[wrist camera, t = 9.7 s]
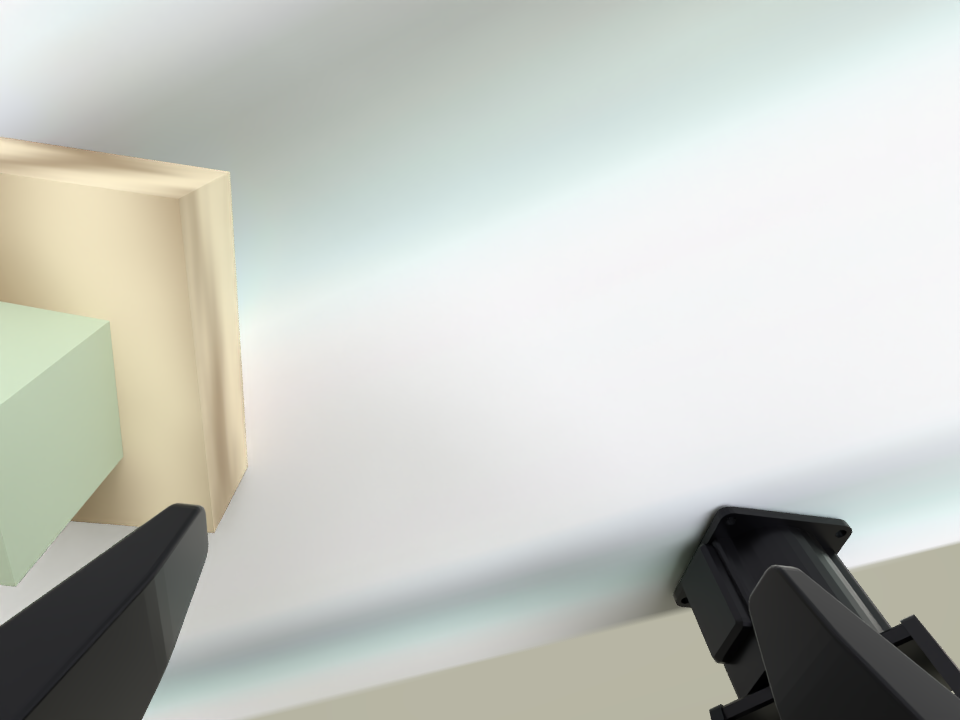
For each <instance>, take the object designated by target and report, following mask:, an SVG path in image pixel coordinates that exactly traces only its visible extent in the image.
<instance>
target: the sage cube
mask: <svg viewBox="0 0 960 720" xmlns="http://www.w3.org/2000/svg"><path fill="white" fill-rule="evenodd" d="M122 458H123V447H122V438H121V428H120V418H119V409H118V399H117V389H116V380H115V370H114V360H113V351H112V341H111V331H110V322H109V321H108V320H102V319H96V318H91V317H85V316H80V315H74V314H68V313H63V312H57V311H51V310H46V309H40V308H35V307H29V306H23V305H18V304H12V303H7V302H1V301H0V585H6V586H15V587H16V586H17V585H18V583H19V582H20V581H21V580H22V579H23V577H24V576H25V575H26V574H27V573H28V571H29V570H30V569H31V568H32V567H33V565H34V564H35V563H36V562H37V560H38V559H39V558H40V557H41V556H42V554H43V553H44V552H45V551H46V550H47V548H48V547H49V546H50V545H51V544H52V542H53V541H54V540H55V539H56V537H57V536H58V535H59V534H60V533H61V531H62V530H63V529H64V528H65V527H66V525H67V524H68V523H69V522H70V521H71V519H72V518H73V517H74V516H75V514H76V513H77V512H78V511H79V510H80V508H81V507H82V506H83V505H84V504H85V502H86V501H87V500H88V499H89V498H90V496H91V495H92V494H93V493H94V491H95V490H96V489H97V488H98V487H99V485H100V484H101V483H102V482H103V481H104V479H105V478H106V477H107V476H108V475H109V473H110V472H111V471H112V470H113V468H114V467H115V466H116V465H117V464H118V462H119V461H120V460H121V459H122Z"/></svg>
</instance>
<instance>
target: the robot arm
mask: <svg viewBox="0 0 960 720" xmlns="http://www.w3.org/2000/svg"><path fill="white" fill-rule="evenodd" d="M727 518H728V519H727ZM851 533H852V529H851V528H850V526H849V525H848V524H847V523H846V522H845V521H844V520H841V519H832V518H824V517H815V516H807V515H798V514H790V513H781V512H772V511H764V510H755V509H747V508H738V507H725V508H722V509H721V510H719V511H718V512H717V514H716V516H715V517H714V519H713V521H712V523H711V525H710V527H709V528H708V530H707V532H706V534H705V536H704V538H703V540H702V541H701V543H700V545H699V547H698V549H697V551H696V553H695V554H694V556H693V558H692V560H691V562H690V564H689V566H688V567H687V569H686V571H685V573H684V575H683V577H682V579H681V580H680V582H679V584H678V586H677V588H676V590H675V591H674V594H673V596H674V598H675V601H676V603H677V605H678V606H681V607H690V608H692V610H693V613H694V615H695V617H696V619H697V622H698V624H699V627H700V629H701V632H702V634H703V636H704V639H705V641H706V644H707V646H708V648H709V650H710V653H711V655H712V657H713V658H714V660H715V661H716V662H717V663H722V664H724V666H725V669H726V671H727V673H728V676H729V678H730V680H731V682H732V685H733V687H734V689H735V692H736V694H737V696H738V699H737V700H735V701H733V702H731V703H729V704H727V705H725V706H723V705H721V704H720V705H718V706H716V707H714V708H712V709H710V710H709V711H710V716H711V720H960V670H959V668H958V667H957V666H956V664H955V663H954V662H953V661H952V660H951V658H950V657H949V656H948V655H947V654H946V652H945V651H944V650H943V649H942V648H941V646H940V645H939V644H938V643H937V642H936V640H935V639H934V638H933V637H932V636H931V634H930V633H929V632H928V631H927V630H926V628H925V627H924V626H923V625H922V624H921V623H920V621H919V620H918V619H917V617H916V616H915V615H911V616H909V617H907V618H905V619H903V620H901V621H900V622H901V624H899V625H897V626H895V627H893V628H891V626H890V625H889V623H888V622H887V621H886V620H885V618H884V617H883V615H882V614H881V613H880V612H879V610H878V609H877V607H876V606H875V605H874V604H873V602H872V601H871V600H870V598H869V597H868V596H867V594H866V593H865V592H864V590H863V589H862V588H861V586H860V585H859V584H858V582H857V581H856V580H855V579H854V577H853V576H852V574H851V573H850V572H849V570H848V569H847V568H846V566H845V565H844V564H843V562H842V561H841V560H840V558H839V557H838V556H837V553H838V552H839V550H840V549H841V548H842V546H843V545H844V544H845V542H846V541H847V539H848V538H849V537H850V535H851ZM207 552H208V533H207V521H206V512H205V509H204V507H203V506H200V505H194V504H184V503H175V504H172V505H170V506H168V507H167V508H165V509H164V510H163V511H161V512H160V513H158V514H157V515H156V516H154V517H153V518H151V519H150V520H149V521H147V522H146V523H144V524H143V525H142V526H140V527H139V528H137V529H136V530H135V531H133V532H132V533H130V534H129V535H128V536H126V537H125V538H123V539H122V540H120V541H119V542H118V543H116V544H115V545H113V546H112V547H111V548H109V549H108V550H106V551H105V552H104V553H102V554H101V555H99V556H98V557H97V558H95V559H94V560H92V561H91V562H90V563H88V564H87V565H85V566H84V567H82V568H81V569H80V570H78V571H77V572H75V573H74V574H73V575H71V576H70V577H68V578H67V579H66V580H64V581H63V582H61V583H60V584H59V585H57V586H56V587H54V588H53V589H52V590H50V591H49V592H47V593H46V594H45V595H43V596H42V597H40V598H39V599H37V600H36V601H35V602H33V603H32V604H30V605H29V606H28V607H26V608H25V609H23V610H22V611H21V612H19V613H18V614H16V615H15V616H14V617H12V618H11V619H9V620H8V621H7V622H5V623H4V624H2V625H1V626H0V720H142V718H143V716H144V714H145V712H146V710H147V708H148V706H149V704H150V702H151V699H152V697H153V695H154V693H155V691H156V689H157V687H158V685H159V683H160V681H161V678H162V676H163V674H164V672H165V670H166V667H167V665H168V663H169V660H170V657H171V655H172V652H173V649H174V647H175V644H176V641H177V638H178V636H179V633H180V630H181V627H182V625H183V622H184V619H185V616H186V613H187V611H188V608H189V605H190V602H191V599H192V597H193V594H194V591H195V588H196V586H197V583H198V580H199V577H200V574H201V572H202V569H203V566H204V563H205V560H206V557H207ZM952 690H953V692H954V693H955V694H953V693H952V692H951V691H952Z"/></svg>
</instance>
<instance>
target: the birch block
mask: <svg viewBox="0 0 960 720" xmlns="http://www.w3.org/2000/svg"><path fill="white" fill-rule="evenodd" d="M0 301H1V302H7V303H12V304H18V305H23V306H29V307H35V308H40V309H46V310H51V311H57V312H63V313H68V314H74V315H80V316H85V317H91V318H96V319H102V320H108V321H109V322H110V331H111V341H112V351H113V360H114V370H115V380H116V389H117V399H118V409H119V418H120V428H121V438H122V447H123V458H122V459H121V460H120V461H119V462H118V464H117V465H116V466H115V467H114V468H113V470H112V471H111V472H110V473H109V475H108V476H107V477H106V478H105V479H104V481H103V482H102V483H101V484H100V485H99V487H98V488H97V489H96V490H95V491H94V493H93V494H92V495H91V496H90V498H89V499H88V500H87V501H86V502H85V504H84V505H83V506H82V507H81V508H80V510H79V511H78V512H77V513H76V514H75V516H74V517H73V518H72V519H71V521H78V522H90V523H101V524H113V525H125V526H137V527H140V526H142V525H143V524H144V523H146V522H147V521H149V520H150V519H151V518H153V517H154V516H156V515H157V514H158V513H160V512H161V511H163V510H164V509H165V508H167V507H168V506H170V505H172V504H175V503H184V504H194V505H200V506H203V507H204V509H205V512H206V521H207V532H209V533H214V532H215V530H216V528H217V526H218V524H219V523H220V521H221V519H222V517H223V515H224V513H225V511H226V509H227V507H228V505H229V503H230V501H231V499H232V497H233V495H234V493H235V491H236V489H237V487H238V485H239V483H240V481H241V479H242V477H243V475H244V473H245V471H246V469H247V467H248V464H247V447H246V431H245V414H244V398H243V381H242V365H241V348H240V332H239V315H238V299H237V282H236V266H235V249H234V233H233V216H232V200H231V183H230V172H227V171H221V170H214V169H208V168H201V167H194V166H188V165H181V164H175V163H168V162H162V161H155V160H148V159H142V158H135V157H129V156H122V155H116V154H109V153H103V152H96V151H89V150H83V149H76V148H70V147H63V146H57V145H50V144H44V143H37V142H30V141H24V140H17V139H11V138H4V137H0Z"/></svg>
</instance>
